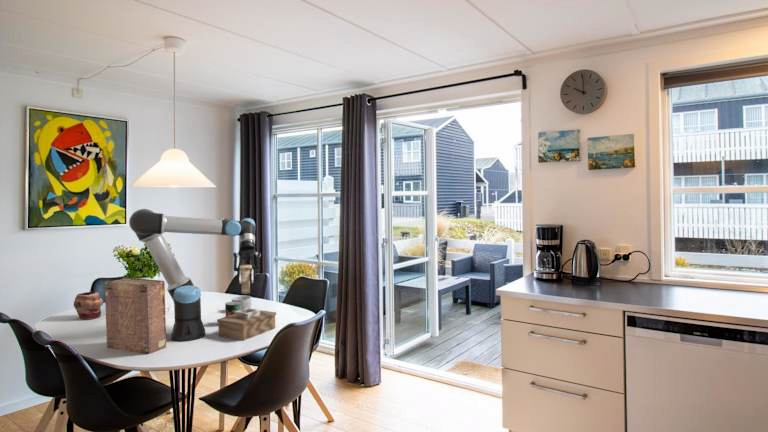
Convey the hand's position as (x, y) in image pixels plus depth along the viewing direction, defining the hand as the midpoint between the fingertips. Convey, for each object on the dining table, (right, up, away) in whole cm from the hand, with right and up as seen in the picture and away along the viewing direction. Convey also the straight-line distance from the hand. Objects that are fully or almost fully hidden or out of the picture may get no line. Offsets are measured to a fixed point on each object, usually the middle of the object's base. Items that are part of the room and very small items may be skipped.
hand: (246, 281), depth 224 cm
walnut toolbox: (-1, -26, +5) cm, 26 cm away
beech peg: (-1, -6, +4) cm, 7 cm away
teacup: (-16, -24, +48) cm, 56 cm away
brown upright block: (-44, -27, -17) cm, 54 cm away
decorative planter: (-98, -25, +34) cm, 106 cm away
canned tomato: (-13, -25, +20) cm, 34 cm away
